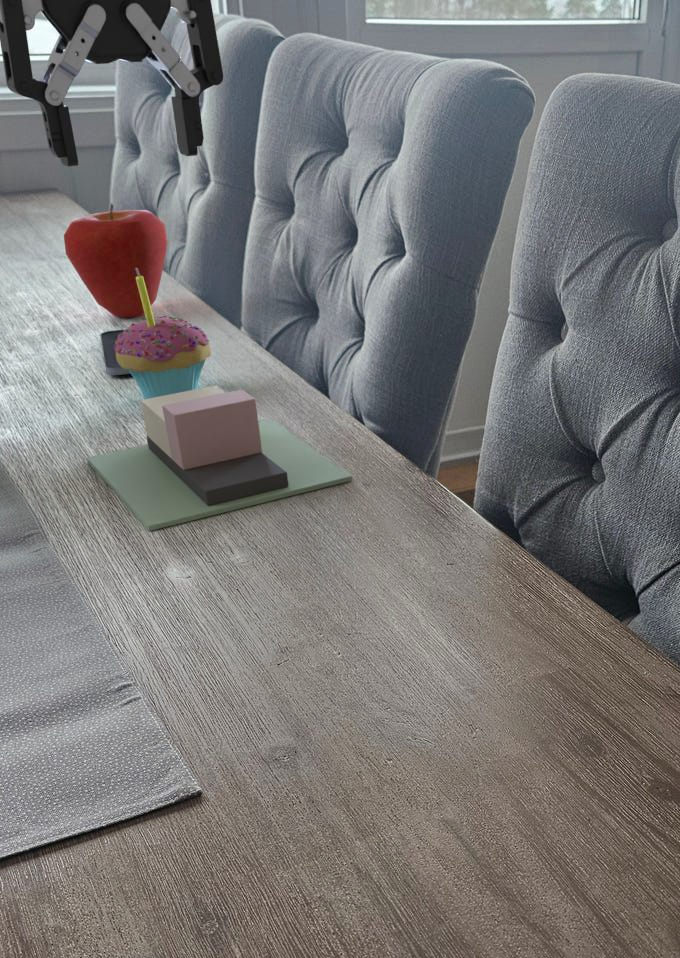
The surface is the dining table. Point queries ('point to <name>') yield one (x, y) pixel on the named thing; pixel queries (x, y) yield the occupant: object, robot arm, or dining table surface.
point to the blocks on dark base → (212, 443)
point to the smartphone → (111, 353)
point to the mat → (173, 502)
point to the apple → (118, 257)
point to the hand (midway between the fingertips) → (131, 159)
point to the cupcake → (162, 352)
